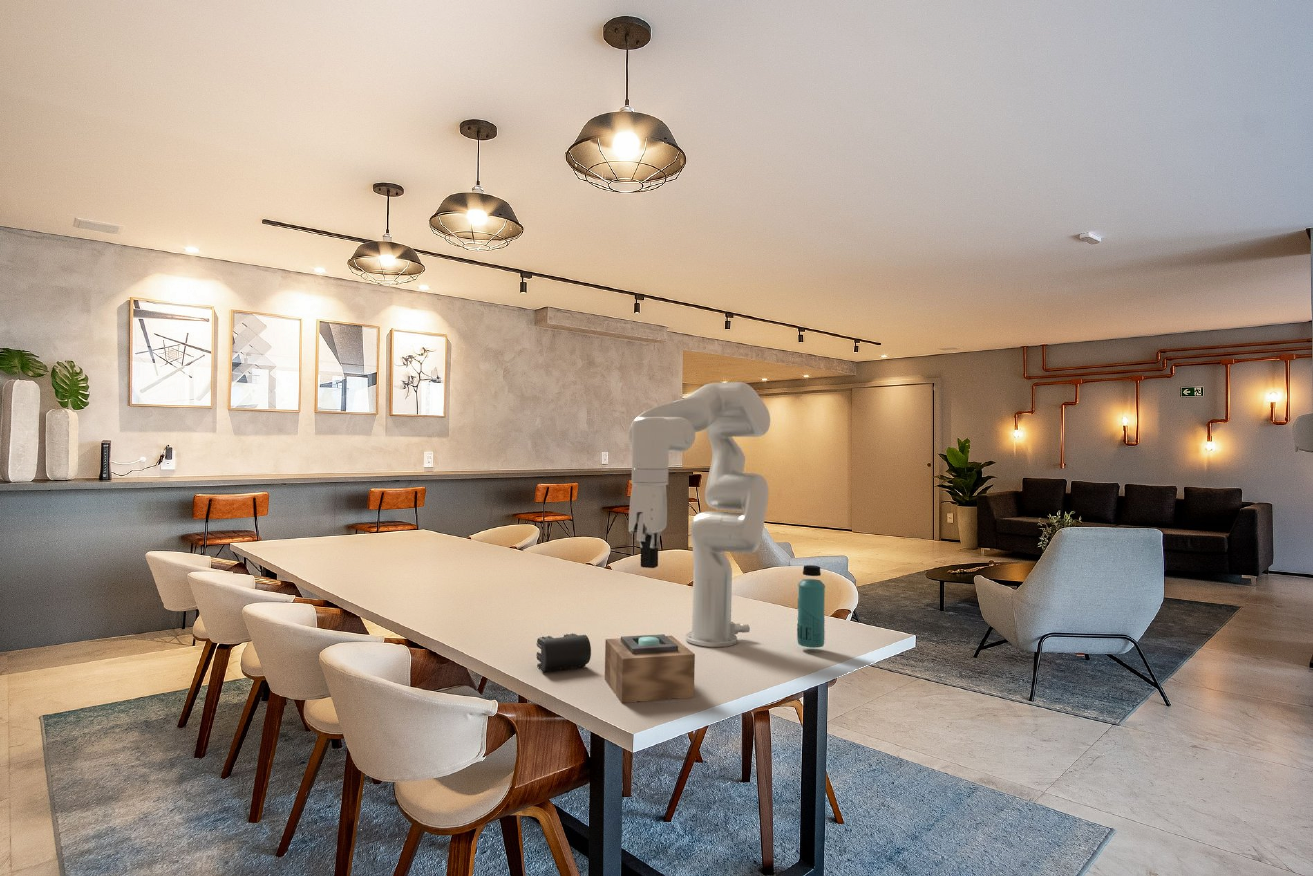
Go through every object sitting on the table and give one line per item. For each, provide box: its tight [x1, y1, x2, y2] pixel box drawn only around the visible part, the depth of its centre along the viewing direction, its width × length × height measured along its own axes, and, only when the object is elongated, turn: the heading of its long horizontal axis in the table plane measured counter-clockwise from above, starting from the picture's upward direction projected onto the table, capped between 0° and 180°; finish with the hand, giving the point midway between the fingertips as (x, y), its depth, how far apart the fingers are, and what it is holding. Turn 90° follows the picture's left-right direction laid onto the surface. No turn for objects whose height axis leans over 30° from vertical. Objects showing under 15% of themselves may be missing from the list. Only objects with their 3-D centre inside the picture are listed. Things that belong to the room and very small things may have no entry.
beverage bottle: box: [796, 564, 826, 649], centre depth 167 cm, size 6×7×20 cm
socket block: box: [604, 633, 696, 704], centre depth 137 cm, size 14×14×9 cm
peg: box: [639, 637, 659, 646], centre depth 137 cm, size 4×4×9 cm
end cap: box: [535, 633, 592, 673], centre depth 149 cm, size 10×7×7 cm
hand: (649, 566), depth 144 cm, fingers closed
